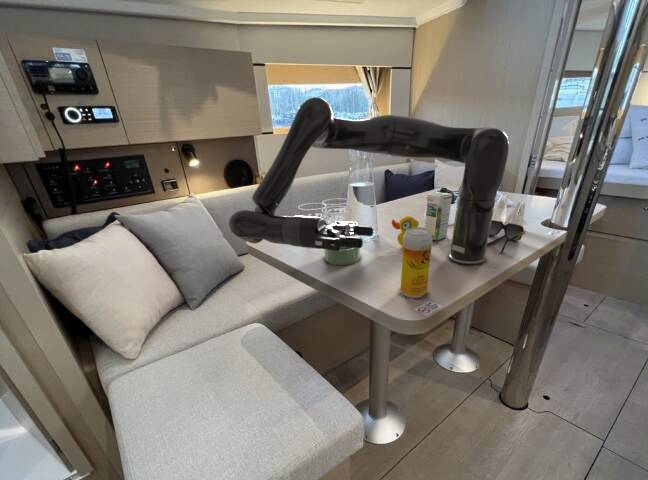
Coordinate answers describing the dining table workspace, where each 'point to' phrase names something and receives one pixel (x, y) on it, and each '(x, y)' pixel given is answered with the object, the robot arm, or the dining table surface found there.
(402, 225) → the duckling
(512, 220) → the shaker set
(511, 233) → the sunglasses
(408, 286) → the yellow bottle
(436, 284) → the dining table surface
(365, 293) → the dining table surface
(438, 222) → the syrup box
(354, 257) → the green round bowl
